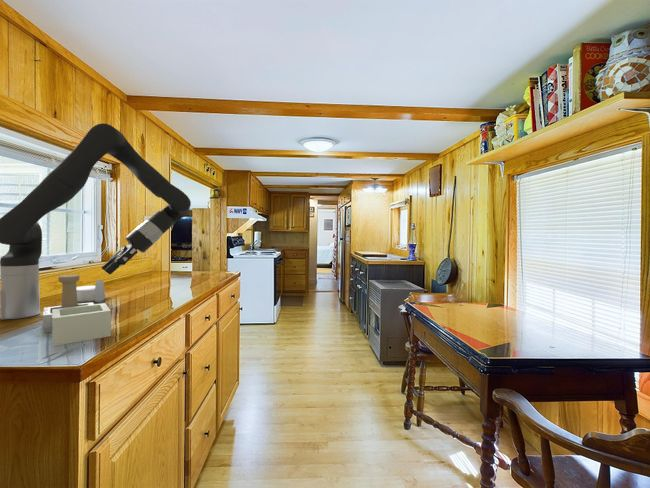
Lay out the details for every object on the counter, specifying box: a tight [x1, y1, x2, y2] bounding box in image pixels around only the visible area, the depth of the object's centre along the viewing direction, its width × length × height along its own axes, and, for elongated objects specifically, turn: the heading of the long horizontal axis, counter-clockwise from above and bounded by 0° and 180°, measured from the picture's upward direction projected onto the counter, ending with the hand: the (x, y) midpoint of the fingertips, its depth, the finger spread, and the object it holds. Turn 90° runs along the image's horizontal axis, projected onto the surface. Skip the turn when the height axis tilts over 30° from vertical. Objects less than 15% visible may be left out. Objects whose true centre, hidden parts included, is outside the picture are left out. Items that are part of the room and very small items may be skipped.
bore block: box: [42, 301, 94, 334], centre depth 95 cm, size 12×12×5 cm
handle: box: [58, 274, 80, 308], centre depth 95 cm, size 5×6×15 cm
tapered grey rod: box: [93, 280, 106, 304], centre depth 115 cm, size 3×25×15 cm, turn 36°
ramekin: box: [76, 284, 96, 303], centre depth 131 cm, size 11×11×5 cm
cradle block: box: [52, 302, 112, 347], centre depth 85 cm, size 12×12×7 cm
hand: (105, 271), depth 101 cm, fingers open, 8 cm apart
